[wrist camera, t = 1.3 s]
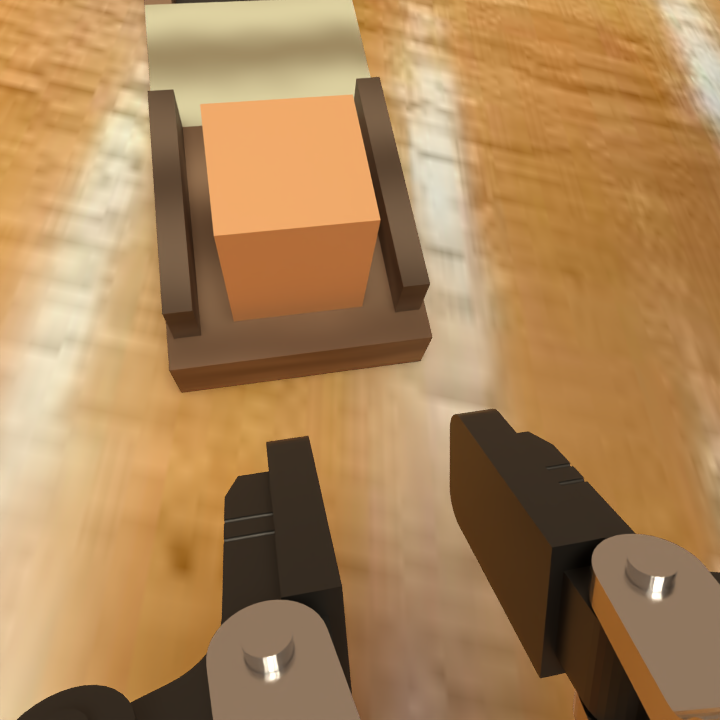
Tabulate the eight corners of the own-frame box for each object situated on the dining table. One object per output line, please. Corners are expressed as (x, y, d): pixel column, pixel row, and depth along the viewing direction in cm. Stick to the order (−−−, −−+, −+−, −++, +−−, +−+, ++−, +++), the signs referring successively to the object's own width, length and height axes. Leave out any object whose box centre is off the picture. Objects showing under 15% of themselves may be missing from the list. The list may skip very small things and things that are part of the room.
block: (362, 306, 29) (380, 220, 22) (233, 321, 28) (213, 236, 21) (341, 201, 31) (352, 94, 24) (221, 212, 30) (200, 104, 23)
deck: (420, 360, 31) (444, 313, 26) (181, 392, 29) (156, 348, 24) (325, -60, 42) (328, -150, 37) (148, -56, 41) (126, -150, 35)
